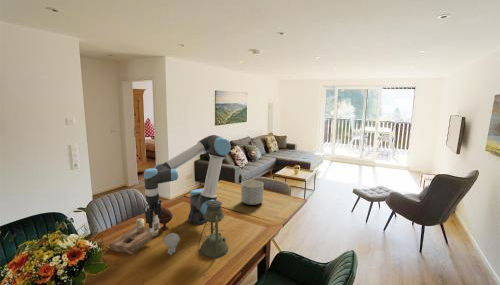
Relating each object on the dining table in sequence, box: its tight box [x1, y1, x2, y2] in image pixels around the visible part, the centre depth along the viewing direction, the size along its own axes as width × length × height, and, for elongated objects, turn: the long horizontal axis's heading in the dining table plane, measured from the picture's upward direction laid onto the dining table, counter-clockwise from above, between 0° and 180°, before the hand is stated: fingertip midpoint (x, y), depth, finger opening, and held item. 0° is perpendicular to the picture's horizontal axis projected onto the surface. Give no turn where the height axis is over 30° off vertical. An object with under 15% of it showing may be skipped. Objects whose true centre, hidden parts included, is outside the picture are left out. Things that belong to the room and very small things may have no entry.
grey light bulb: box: [163, 232, 180, 256], centre depth 145 cm, size 8×8×12 cm
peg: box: [152, 213, 160, 237], centre depth 156 cm, size 5×5×12 cm
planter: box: [240, 179, 264, 206], centre depth 219 cm, size 19×19×18 cm
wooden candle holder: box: [109, 217, 156, 255], centre depth 157 cm, size 16×22×12 cm
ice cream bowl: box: [159, 207, 174, 232], centre depth 173 cm, size 11×11×15 cm
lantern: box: [198, 199, 229, 259], centre depth 149 cm, size 21×18×30 cm
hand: (154, 229), depth 156 cm, fingers closed on peg, 5 cm apart
